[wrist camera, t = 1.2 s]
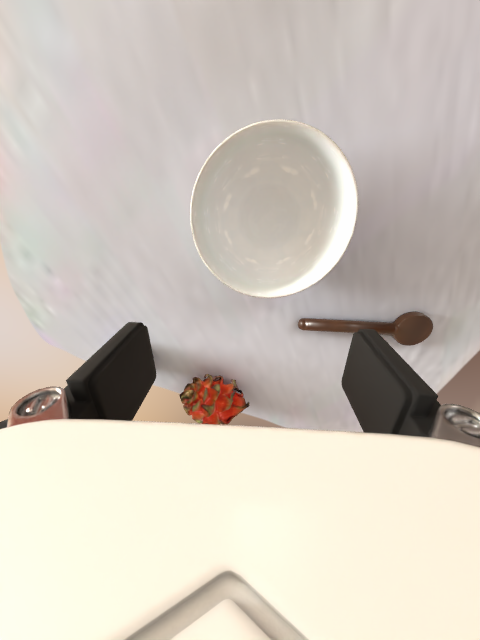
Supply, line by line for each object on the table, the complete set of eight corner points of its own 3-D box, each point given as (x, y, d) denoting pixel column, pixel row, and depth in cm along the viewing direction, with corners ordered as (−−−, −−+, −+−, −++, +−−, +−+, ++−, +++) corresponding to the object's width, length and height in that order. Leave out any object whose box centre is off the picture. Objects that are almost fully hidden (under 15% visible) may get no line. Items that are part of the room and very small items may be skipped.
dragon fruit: (184, 368, 44) (245, 376, 46) (175, 415, 43) (239, 421, 45) (182, 372, 36) (257, 382, 38) (172, 431, 34) (250, 437, 37)
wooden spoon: (294, 335, 37) (296, 341, 36) (299, 305, 35) (301, 310, 33) (420, 342, 37) (427, 348, 35) (433, 312, 34) (442, 317, 33)
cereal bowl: (212, 284, 34) (202, 303, 28) (192, 146, 27) (173, 129, 21) (330, 277, 33) (348, 295, 27) (345, 129, 25) (374, 105, 19)
